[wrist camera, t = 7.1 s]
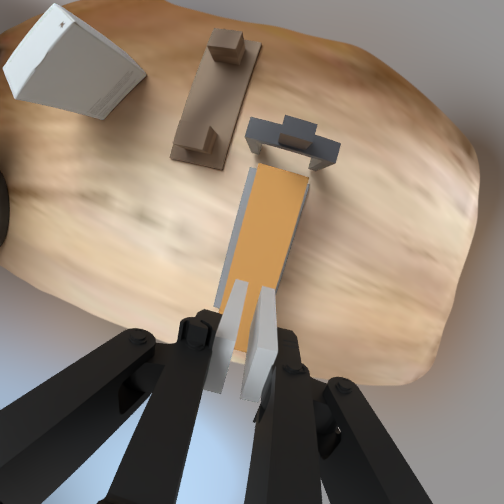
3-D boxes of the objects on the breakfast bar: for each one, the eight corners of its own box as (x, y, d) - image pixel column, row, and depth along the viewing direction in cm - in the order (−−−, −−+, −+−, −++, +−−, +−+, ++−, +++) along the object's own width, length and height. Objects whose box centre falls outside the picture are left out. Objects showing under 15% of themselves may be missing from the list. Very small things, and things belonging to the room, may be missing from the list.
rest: (171, 158, 28) (155, 154, 24) (212, 37, 25) (204, 18, 20) (222, 170, 28) (214, 166, 24) (261, 44, 25) (260, 25, 20)
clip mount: (214, 304, 32) (206, 322, 27) (250, 167, 28) (247, 163, 24) (266, 319, 32) (266, 338, 27) (308, 184, 28) (316, 183, 24)
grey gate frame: (251, 152, 27) (239, 125, 15) (255, 138, 27) (247, 102, 15) (315, 171, 27) (349, 158, 15) (319, 156, 27) (355, 134, 15)
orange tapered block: (217, 325, 27) (211, 342, 24) (260, 166, 24) (258, 163, 20) (255, 335, 27) (253, 354, 24) (303, 179, 24) (309, 177, 20)
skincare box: (125, 51, 25) (57, -3, 10) (150, 77, 26) (78, 18, 11) (81, 96, 27) (-1, 67, 12) (102, 125, 28) (11, 100, 13)
